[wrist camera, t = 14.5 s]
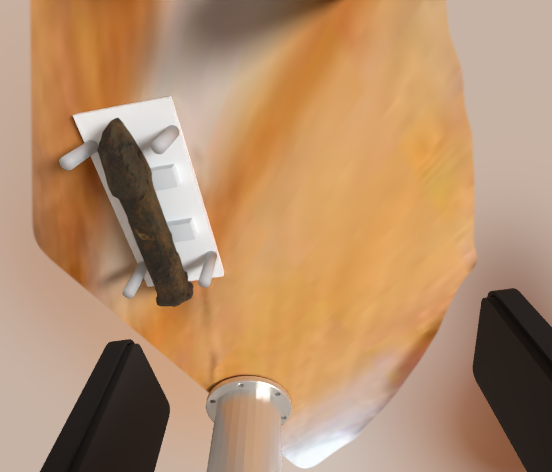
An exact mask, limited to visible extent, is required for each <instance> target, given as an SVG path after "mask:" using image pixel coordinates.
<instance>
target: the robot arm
mask: <svg viewBox="0 0 552 472" xmlns="http://www.w3.org/2000/svg"><path fill="white" fill-rule="evenodd" d="M473 373H474V377H475V379H476V382H477V383H478V385H479V387H480V389H481V390H482V392H483V394H484V396H485V398H486V399H487V401H488V403H489V405H490V407H491V408H492V410H493V412H494V414H495V416H496V417H497V419H498V421H499V423H500V424H501V426H502V428H503V430H504V432H505V433H506V435H507V437H508V439H509V440H510V442H511V444H512V446H513V447H514V449H515V451H516V453H517V455H518V457H519V458H520V460H521V462H522V464H523V465H524V467H525V469H526V471H527V472H552V327H551V326H550V325H549V324H548V323H547V322H546V321H545V319H544V318H543V317H542V316H541V315H540V314H539V313H538V312H537V311H536V309H535V308H534V307H533V306H532V305H531V304H530V303H529V302H528V301H527V300H526V299H525V297H524V296H523V295H522V294H521V293H520V292H519V291H518V290H517V289H514V288H512V289H505V290H497V291H491V292H489V293H488V297H487V298H483V299H482V302H481V309H480V316H479V324H478V332H477V339H476V346H475V354H474V361H473ZM206 410H207V413H208V415H209V417H210V418H211V420H212V421H213V422H214V428H213V434H212V441H211V447H210V454H209V460H208V467H207V472H282V451H281V425H283V424H284V423H285V422H286V421H287V420H288V418H289V416H290V414H291V399H290V396H289V394H288V393H287V391H286V390H285V389H284V388H283V387H282V386H280V385H279V384H277V383H276V382H274V381H271V380H269V379H266V378H263V377H257V376H238V377H233V378H230V379H227V380H224V381H222V382H221V383H219V384H217V385H216V386H215V387H214V388H213V389H212V390H211V391H210V393H209V395H208V398H207V403H206ZM169 414H170V407H169V403H168V400H167V399H166V396H165V394H164V393H163V390H162V388H161V386H160V384H159V382H158V381H157V378H156V377H155V375H154V373H153V370H152V368H151V367H150V364H149V362H148V360H147V358H146V356H145V354H144V353H143V350H142V348H141V347H140V345H139V344H135V343H134V342H133V341H132V340H131V339H130V340H121V341H113V342H109V343H108V344H107V345H106V347H105V349H104V351H103V353H102V355H101V356H100V359H99V360H98V362H97V364H96V366H95V368H94V370H93V372H92V374H91V376H90V377H89V379H88V381H87V383H86V385H85V387H84V389H83V391H82V393H81V395H80V397H79V398H78V400H77V402H76V404H75V406H74V408H73V410H72V412H71V414H70V415H69V417H68V419H67V421H66V423H65V425H64V427H63V429H62V431H61V433H60V434H59V437H58V438H57V440H56V442H55V444H54V446H53V448H52V450H51V452H50V453H49V455H48V457H47V459H46V461H45V463H44V465H43V467H42V469H41V471H40V472H154V470H155V467H156V463H157V459H158V455H159V452H160V448H161V444H162V441H163V437H164V433H165V430H166V426H167V422H168V419H169Z"/></svg>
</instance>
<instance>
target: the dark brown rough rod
mask: <svg viewBox="0 0 552 472" xmlns="http://www.w3.org/2000/svg"><path fill="white" fill-rule="evenodd" d="M97 151H98V154H99V157H100V160H101V164H102V167H103V169H104V173H105V177H106V181H107V185H108V187H109V190H110V192H111V194H112V195H113V196H114V197H116V198H118V199H119V201H120V203H121V205H122V207H123V209H124V211H125V213H126V216H127V218H128V223H129V225H130V227H131V230H132V232H133V235H134V238H135V240H136V243H137V245H138V248H139V250H140V253H141V255H142V257H143V260H144V263H145V265H146V267H147V270H148V272H149V275H150V277H151V279H152V282H153V284H154V286H155V290H156V292H157V298H156V301H157V305H159V306H173V307H174V306H178V305H180V304H181V303H183V302H185V301H187V300H189V299H191V298H192V295H193V284H192V283H191V282H189V281H188V274H187V272H186V271H184V269H183V266H182V263H181V258H180V256H179V253H178V252H177V251H176V248H175V245H174V242H173V239H172V233H171V232H170V230H169V227H168V225H167V222H166V219H165V217H164V214H163V211H162V208H161V205H160V203H159V200H158V197H157V194H156V191H155V189H154V186H153V181H152V172H151V169H150V166H149V164H148V162H147V160H146V158H145V156H144V155H143V153H142V151H141V150H140V148H139V146H138V144H137V143H136V141H135V140H134V138H133V136H132V135H131V133H130V132H129V131H128V129H127V128H126V127H125V125H124V123H123V122H122V121H121V120H120V119H119V118H115V119H113V120H112V121H110V122H109V124H108V125H107V126H106V128H105V129H104V131H103V132H102V137H101V140H100V142H99V146H98V150H97Z"/></svg>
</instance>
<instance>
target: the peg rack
mask: <svg viewBox="0 0 552 472" xmlns="http://www.w3.org/2000/svg"><path fill="white" fill-rule="evenodd" d="M73 118H74V120H75V122H76V125H77V127H78V129H79V131H80V134H81V136H82V138H83V141H84V144H82V145H80V146H79V147H77V148H76V149H74V150H72V151H71V152H69V153H68V154H66V155H64V156H63V157H61V158H60V160H59V164H60V166H61V167H62V168H63V169H65V170H72V169H73V168H75V167H76V166H78V165H79V164H80V163H82V162H83V161H84V160H86V159H87V158H89V157H90V156H91V159H92V161H93V163H94V166H95V168H96V170H97V172H98V175H99V177H100V179H101V182H102V184H103V186H104V188H105V191H106V193H107V195H108V198H109V200H110V202H111V204H112V207H113V209H114V211H115V214H116V216H117V218H118V220H119V223H120V225H121V227H122V230H123V232H124V234H125V236H126V239H127V241H128V243H129V245H130V248H131V250H132V252H133V255H134V257H135V259H136V261H137V264H138V266H137V267H136V269H135V271H134V273H133V274H132V276H131V278H130V280H129V281H128V283H127V285H126V287H125V288H124V290H123V295H124V296H125V297H127V298H133V297H134V295H135V293H136V291H137V290H138V288H139V286H140V284H141V282H142V280H143V278H144V280H145V282H146V284H147V287H152V286H154V284H153V282H152V279H151V277H150V275H149V272H148V270H147V267H146V265H145V263H144V260H143V257H142V255H141V253H140V250H139V248H138V245H137V243H136V240H135V238H134V235H133V232H132V230H131V227H130V225H129V223H128V218H127V216H126V213H125V211H124V209H123V207H122V205H121V203H120V201H119V199H118V198H116V197H114V196H113V195H112V194H111V192H110V190H109V187H108V185H107V181H106V177H105V173H104V169H103V167H102V164H101V160H100V157H99V154H98V151H97V150H98V146H99V142H100V140H101V137H102V132H103V131H104V129H105V128H106V126H107V125H108V124H109V122H110V121H112V120H113V119H115V118H119V119H120V120H121V121H122V122H123V123H124V125H125V127H126V128H127V129H128V131H129V132H130V133H131V135H132V136H133V138H134V140H135V141H136V143H137V144H138V146H139V148H140V150H141V151H142V153H143V155H144V156H145V158H146V160H147V162H148V164H149V166H150V169H151V172H152V181H153V186H154V189H155V191H156V194H157V197H158V200H159V203H160V205H161V208H162V211H163V214H164V217H165V219H166V222H167V225H168V227H169V230H170V232H171V233H172V239H173V242H174V245H175V248H176V251H177V252H178V253H179V256H180V258H181V263H182V266H183V269H184V271H186V272H187V274H188V281H193V280H199V281H198V283H199V285H200V286H201V287H208V286H209V285H210V283H211V279H212V278H214V277H221V276H224V269H223V266H222V263H221V259H220V256H219V253H218V249H217V246H216V243H215V239H214V236H213V233H212V229H211V226H210V223H209V219H208V216H207V213H206V209H205V206H204V203H203V199H202V196H201V193H200V189H199V186H198V183H197V179H196V176H195V173H194V169H193V166H192V163H191V159H190V156H189V153H188V149H187V146H186V143H185V139H184V136H183V133H182V129H181V126H180V123H179V119H178V116H177V113H176V109H175V106H174V103H173V99H172V96H166V97H161V98H156V99H151V100H145V101H140V102H135V103H130V104H124V105H119V106H114V107H109V108H103V109H98V110H93V111H88V112H82V113H77V114H75V115H73Z"/></svg>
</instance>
